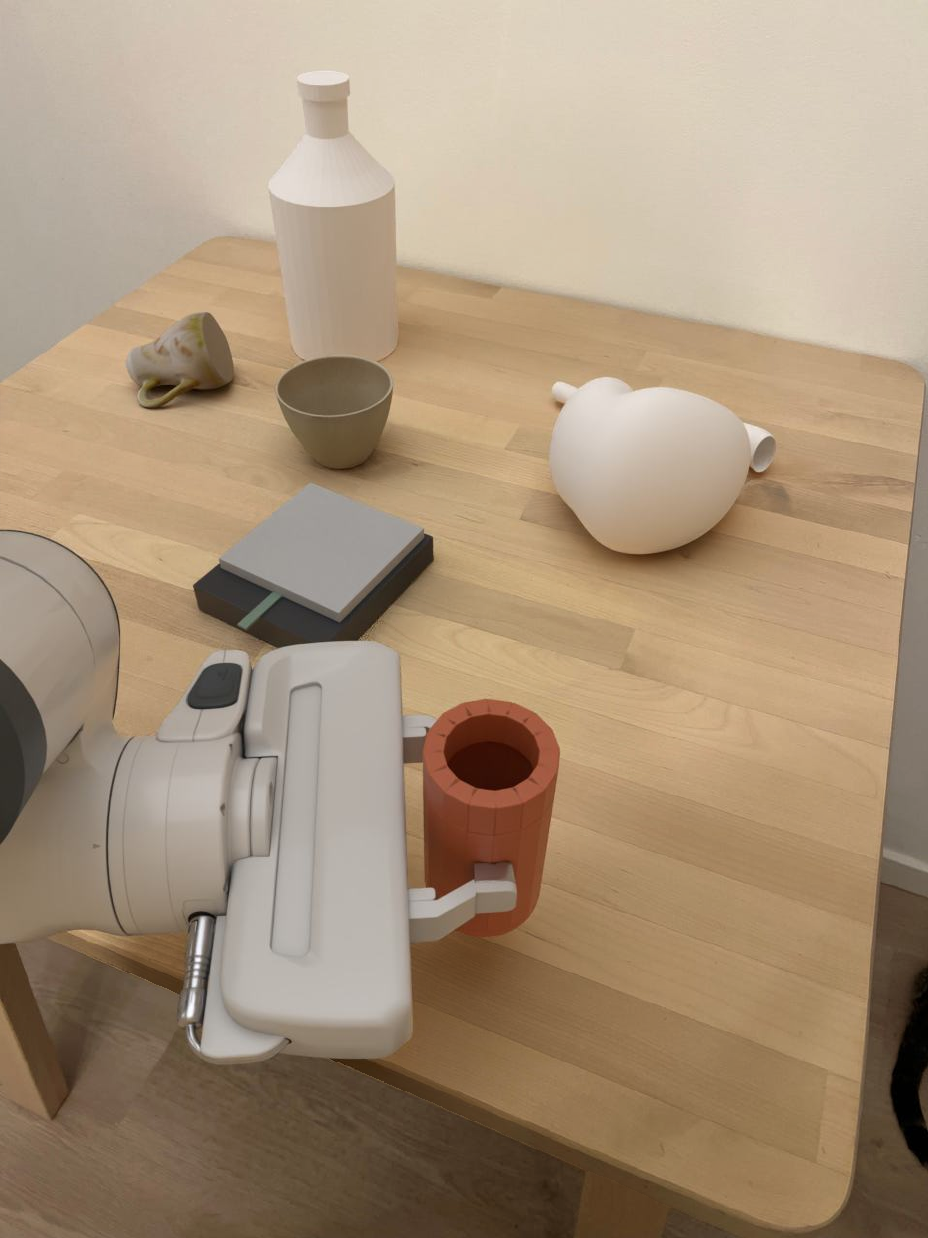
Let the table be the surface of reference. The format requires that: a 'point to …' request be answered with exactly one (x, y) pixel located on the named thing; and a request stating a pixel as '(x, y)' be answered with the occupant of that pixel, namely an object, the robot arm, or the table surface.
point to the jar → (488, 802)
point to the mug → (182, 359)
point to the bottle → (335, 232)
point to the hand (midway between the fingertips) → (506, 814)
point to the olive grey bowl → (336, 407)
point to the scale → (315, 570)
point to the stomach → (650, 462)
